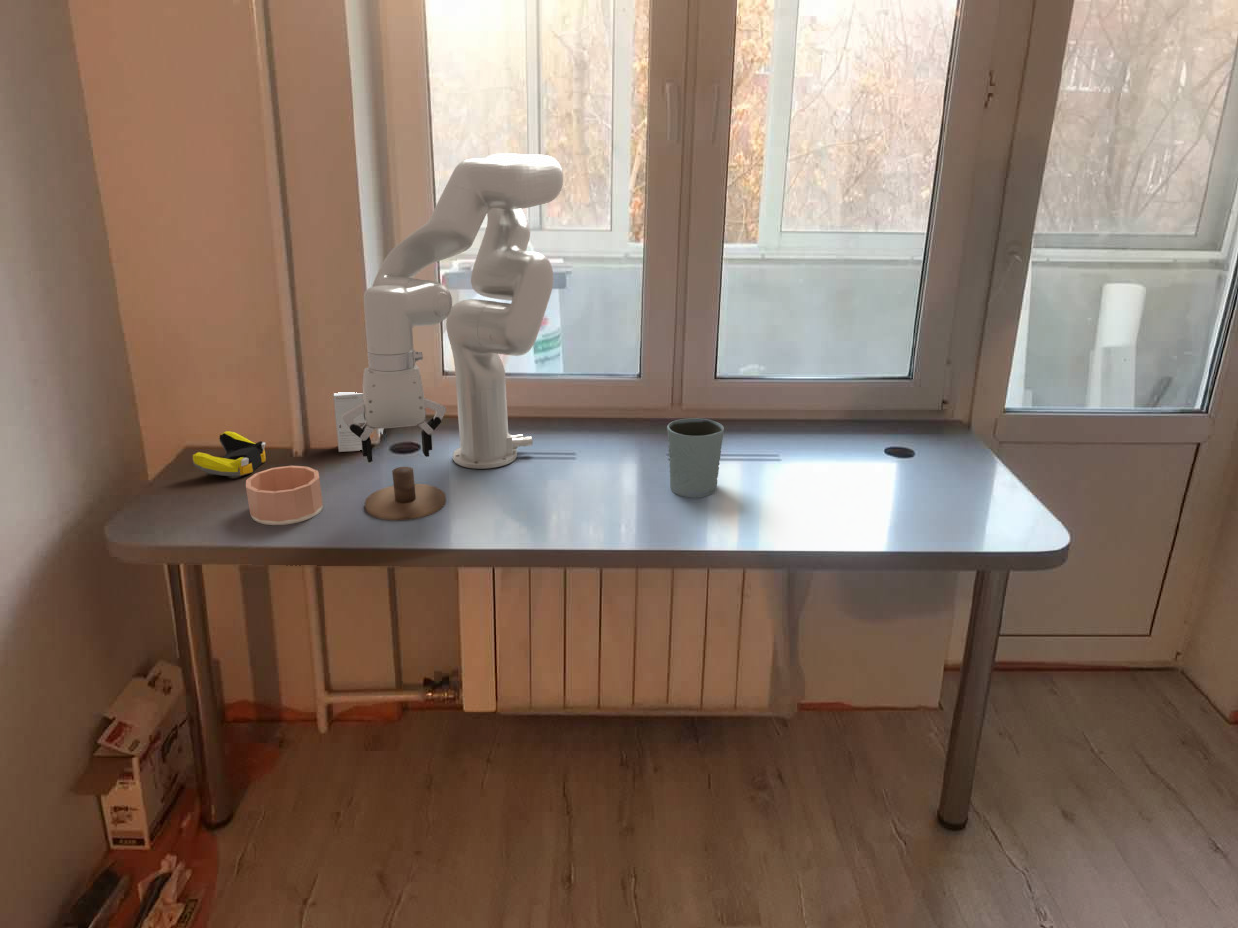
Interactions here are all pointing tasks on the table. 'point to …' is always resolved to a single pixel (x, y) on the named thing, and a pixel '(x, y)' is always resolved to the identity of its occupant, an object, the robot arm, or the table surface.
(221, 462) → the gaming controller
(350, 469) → the table surface
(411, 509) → the lid
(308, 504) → the bowl
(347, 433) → the skincare box
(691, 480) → the grey green cup
